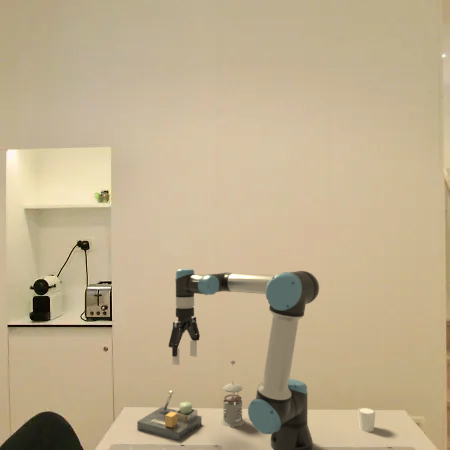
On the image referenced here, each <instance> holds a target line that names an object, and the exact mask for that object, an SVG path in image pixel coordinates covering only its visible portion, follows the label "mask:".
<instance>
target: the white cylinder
mask: <svg viewBox="0 0 450 450" xmlns="http://www.w3.org/2000/svg"><path fill="white" fill-rule="evenodd" d="M356 411H357V419H358V428H359V430H360V431H364V432H365V433H367V432H368V433H372V432H374V431H375V420H376V410H375V409H373V408H369V407H364V406H363V407H358V408H357V409H356Z"/></svg>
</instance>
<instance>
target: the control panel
mask: <svg viewBox="0 0 450 450" xmlns="http://www.w3.org/2000/svg"><path fill="white" fill-rule="evenodd" d="M163 409H164V406H161V407H159V408H158V409H156V410H155V411H153V412H151V413H149V414H148V415H145V416H144V417H142V418H141V419H139V420H137V423H136V424H137V425H136V428H137V430H140V431H142V432H146V433H150V434H154V435H156V436H157V435H158V436H160V437H163V438H164V437H165V438H167V439H172V440H174V441H178V442H180V441H181V440H182V439H184V438H185V437H186V436H187V435H189V434H191V432H193V431H194V430H196V429H197V428H199V426H201V425H202V416H201V415H198V409H195V408H192V413H190V414H181V413H180V408H179V409H172V408H170V407H169V408H168V407H167V409H166V411H164V410H163ZM170 412H175V413H178V424H176V425H175V426H173V427H172V428H171V427H167V426H165V415H167V414H168V413H170Z"/></svg>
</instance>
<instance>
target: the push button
mask: <svg viewBox="0 0 450 450" xmlns="http://www.w3.org/2000/svg"><path fill="white" fill-rule="evenodd" d="M179 409H180V413H181V414H190V413H192V409H193V403H192V402H190V401H183V402H180V403H179Z"/></svg>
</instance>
